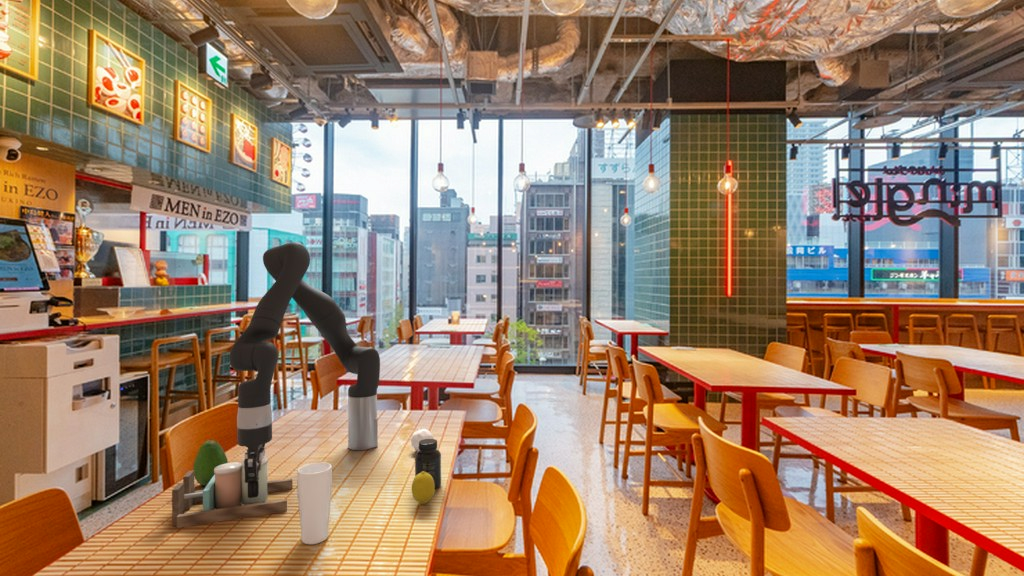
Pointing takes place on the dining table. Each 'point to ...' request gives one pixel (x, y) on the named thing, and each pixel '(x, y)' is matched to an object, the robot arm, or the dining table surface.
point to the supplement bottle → (429, 460)
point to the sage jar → (262, 484)
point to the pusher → (206, 495)
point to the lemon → (423, 487)
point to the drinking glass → (314, 501)
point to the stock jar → (228, 485)
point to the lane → (224, 513)
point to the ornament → (420, 437)
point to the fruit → (208, 461)
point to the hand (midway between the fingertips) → (255, 491)
